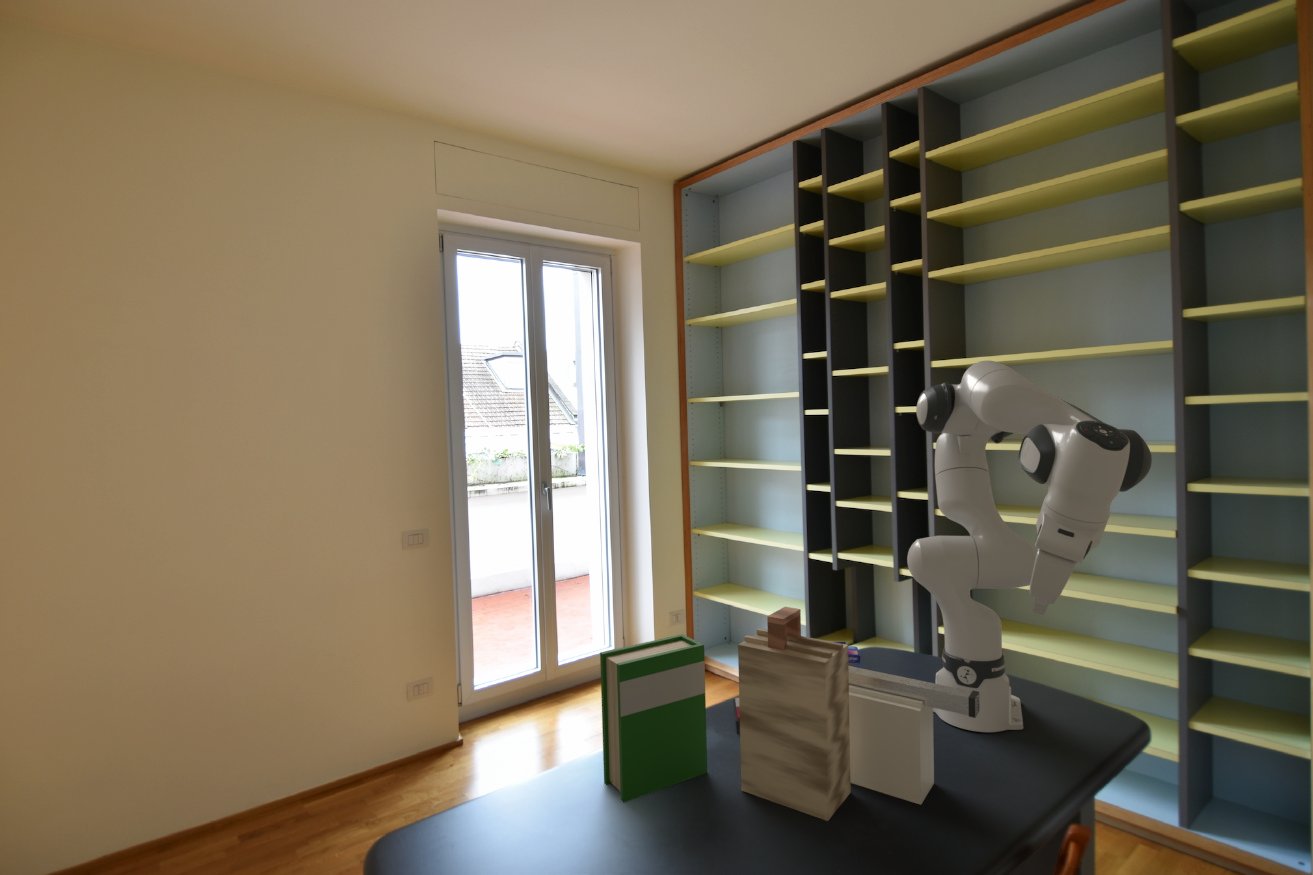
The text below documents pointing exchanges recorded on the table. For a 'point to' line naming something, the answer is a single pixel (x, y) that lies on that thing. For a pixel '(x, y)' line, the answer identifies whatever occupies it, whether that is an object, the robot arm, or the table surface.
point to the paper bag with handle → (794, 717)
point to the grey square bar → (918, 691)
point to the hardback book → (653, 715)
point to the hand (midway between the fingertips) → (1044, 597)
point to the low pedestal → (891, 744)
